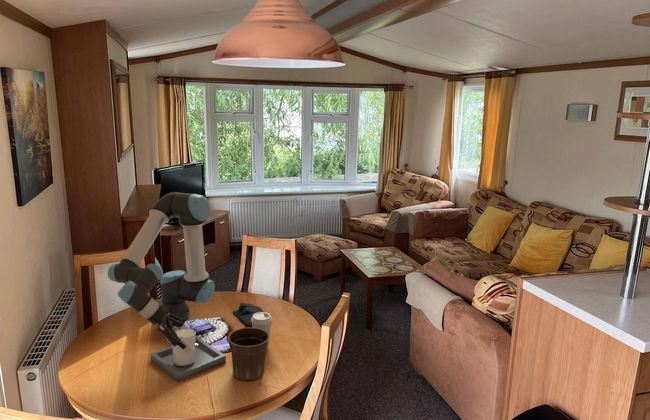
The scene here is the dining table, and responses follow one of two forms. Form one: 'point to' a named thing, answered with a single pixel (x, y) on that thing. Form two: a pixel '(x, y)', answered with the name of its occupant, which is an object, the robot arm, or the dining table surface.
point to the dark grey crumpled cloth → (247, 312)
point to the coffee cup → (262, 322)
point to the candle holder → (179, 354)
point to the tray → (203, 361)
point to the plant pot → (248, 352)
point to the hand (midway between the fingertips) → (192, 343)
